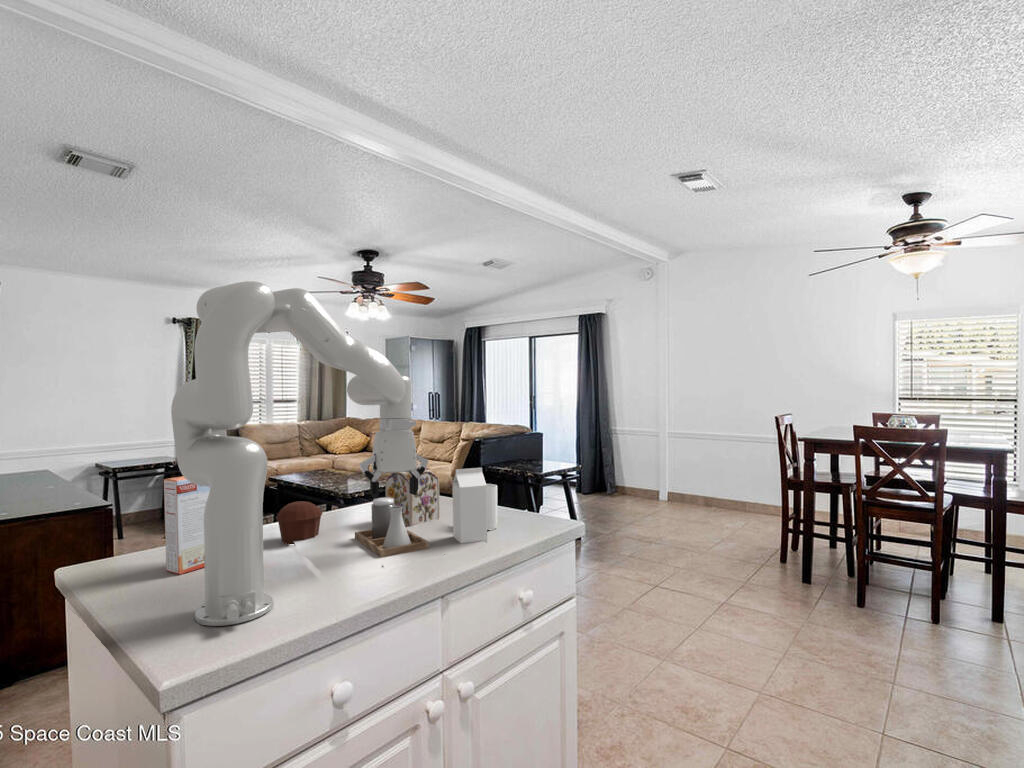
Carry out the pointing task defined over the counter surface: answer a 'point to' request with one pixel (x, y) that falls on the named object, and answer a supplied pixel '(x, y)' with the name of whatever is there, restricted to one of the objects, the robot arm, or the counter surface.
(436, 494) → the decorative jar
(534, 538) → the counter surface
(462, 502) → the milk carton
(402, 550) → the caddy
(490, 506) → the mug
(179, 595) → the counter surface
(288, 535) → the muffin
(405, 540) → the flask
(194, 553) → the cracker box
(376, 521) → the pepper shaker
